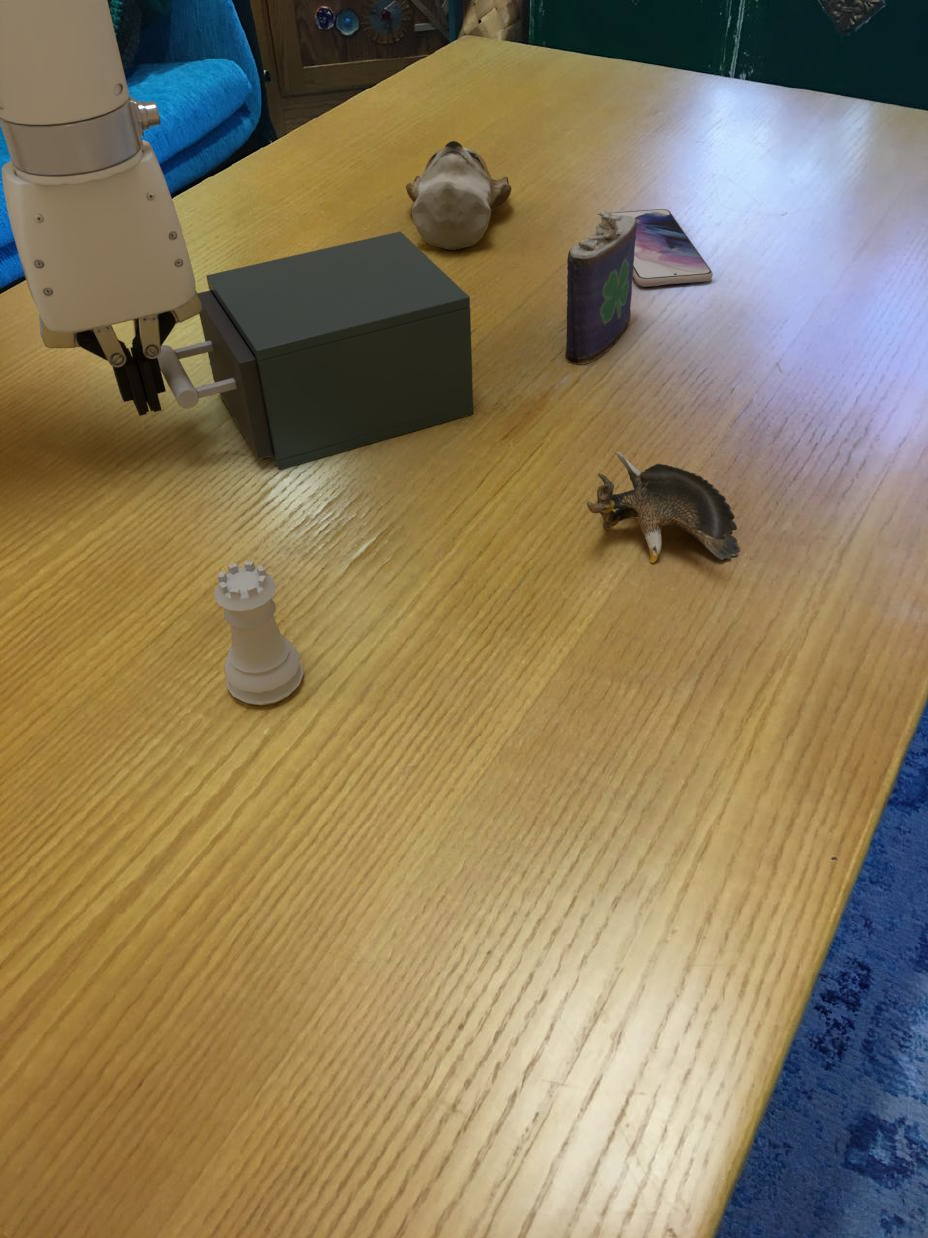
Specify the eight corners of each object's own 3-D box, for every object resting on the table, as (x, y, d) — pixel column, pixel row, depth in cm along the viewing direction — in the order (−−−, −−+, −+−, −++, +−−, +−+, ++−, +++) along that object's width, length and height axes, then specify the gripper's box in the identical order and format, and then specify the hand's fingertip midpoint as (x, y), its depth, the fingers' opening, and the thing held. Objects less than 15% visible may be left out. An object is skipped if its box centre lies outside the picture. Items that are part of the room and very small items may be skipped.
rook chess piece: (218, 667, 62) (190, 563, 57) (292, 644, 63) (271, 540, 58) (237, 719, 59) (210, 615, 54) (314, 694, 60) (294, 589, 55)
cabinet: (278, 470, 77) (256, 350, 70) (229, 388, 85) (205, 274, 78) (473, 414, 81) (470, 296, 75) (408, 342, 90) (400, 230, 83)
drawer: (200, 476, 75) (176, 378, 69) (161, 399, 82) (137, 306, 77) (442, 408, 80) (437, 312, 75) (385, 341, 88) (377, 250, 82)
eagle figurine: (586, 569, 66) (736, 568, 63) (583, 452, 65) (735, 446, 62) (610, 556, 73) (745, 555, 70) (607, 451, 72) (745, 445, 69)
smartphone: (668, 207, 106) (715, 273, 95) (667, 215, 106) (714, 282, 95) (599, 212, 105) (638, 279, 94) (598, 220, 106) (637, 288, 95)
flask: (608, 312, 92) (617, 188, 85) (639, 320, 91) (651, 195, 84) (557, 360, 87) (562, 231, 79) (590, 369, 85) (597, 240, 78)
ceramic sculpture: (387, 164, 95) (407, 117, 106) (393, 259, 100) (412, 205, 112) (506, 165, 94) (514, 117, 106) (505, 261, 100) (513, 206, 111)
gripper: (181, 97, 68) (233, 355, 80) (-65, 140, 63) (31, 405, 76) (212, 133, 63) (262, 402, 75) (-53, 182, 58) (48, 459, 71)
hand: (146, 403), depth 76 cm, fingers closed
